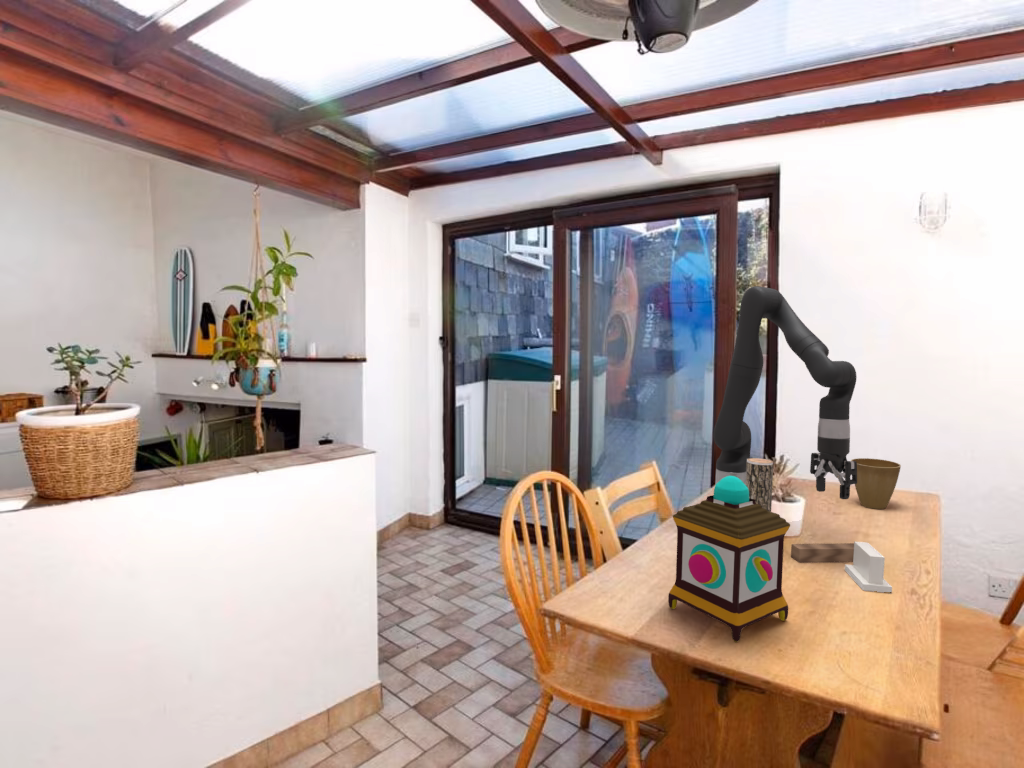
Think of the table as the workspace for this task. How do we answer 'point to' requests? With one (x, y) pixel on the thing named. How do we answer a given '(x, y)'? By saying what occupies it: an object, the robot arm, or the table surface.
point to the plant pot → (876, 481)
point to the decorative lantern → (730, 558)
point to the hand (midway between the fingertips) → (832, 495)
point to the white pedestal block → (868, 568)
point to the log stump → (760, 481)
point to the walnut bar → (823, 553)
